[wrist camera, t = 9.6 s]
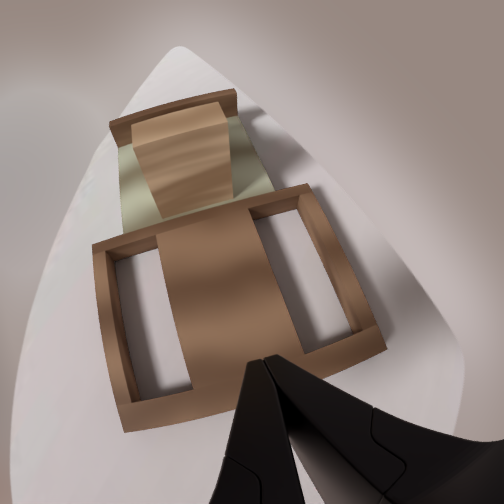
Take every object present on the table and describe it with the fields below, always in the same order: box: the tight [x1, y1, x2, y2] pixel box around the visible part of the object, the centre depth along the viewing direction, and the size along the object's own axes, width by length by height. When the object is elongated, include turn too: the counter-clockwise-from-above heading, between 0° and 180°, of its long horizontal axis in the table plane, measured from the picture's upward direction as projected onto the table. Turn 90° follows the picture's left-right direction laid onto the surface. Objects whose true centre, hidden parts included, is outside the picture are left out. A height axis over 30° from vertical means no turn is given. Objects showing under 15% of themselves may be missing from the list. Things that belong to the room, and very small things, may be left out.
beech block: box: [131, 102, 233, 219], centre depth 22 cm, size 10×6×8 cm, turn 18°
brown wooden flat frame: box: [92, 88, 387, 433], centre depth 23 cm, size 27×19×5 cm
